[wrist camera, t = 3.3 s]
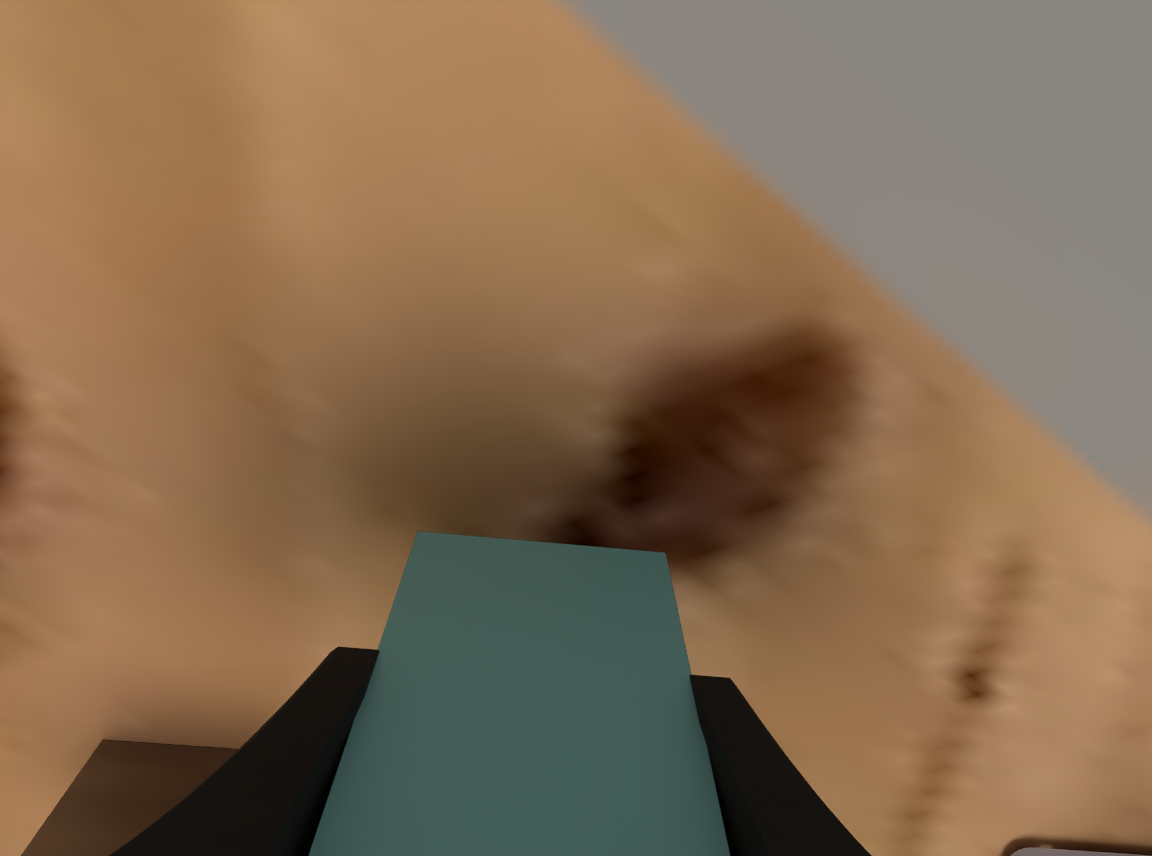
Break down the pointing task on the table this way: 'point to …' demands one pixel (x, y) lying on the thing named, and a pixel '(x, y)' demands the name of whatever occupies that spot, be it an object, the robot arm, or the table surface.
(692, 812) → the teal domino
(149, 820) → the walnut domino
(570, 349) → the table surface
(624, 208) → the table surface
